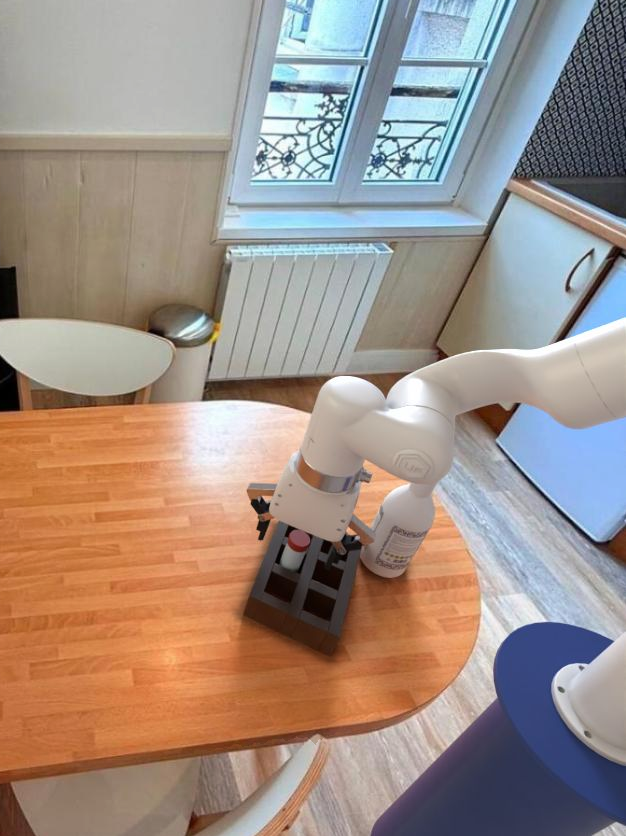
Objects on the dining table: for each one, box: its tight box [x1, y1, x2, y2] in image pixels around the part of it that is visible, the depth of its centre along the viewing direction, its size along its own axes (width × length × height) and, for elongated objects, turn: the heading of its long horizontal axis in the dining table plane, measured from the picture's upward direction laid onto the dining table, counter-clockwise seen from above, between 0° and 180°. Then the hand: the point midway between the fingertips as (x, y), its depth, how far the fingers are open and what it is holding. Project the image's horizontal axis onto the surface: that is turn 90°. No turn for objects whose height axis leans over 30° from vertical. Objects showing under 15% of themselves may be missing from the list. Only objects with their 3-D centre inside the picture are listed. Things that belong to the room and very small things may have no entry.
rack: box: [242, 520, 362, 657], centre depth 90 cm, size 12×18×5 cm
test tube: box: [279, 530, 310, 573], centre depth 89 cm, size 3×3×10 cm
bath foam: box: [359, 481, 439, 579], centre depth 89 cm, size 7×7×20 cm
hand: (295, 547), depth 88 cm, fingers open, 9 cm apart
